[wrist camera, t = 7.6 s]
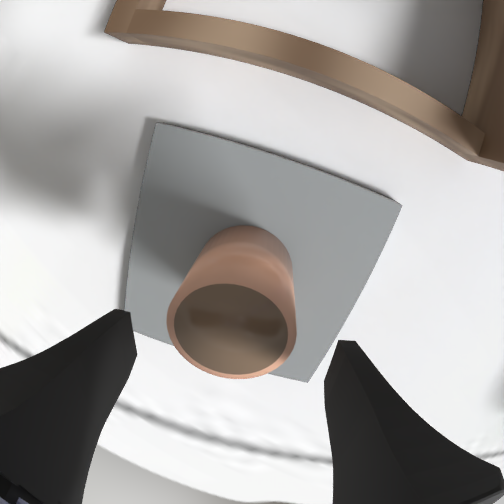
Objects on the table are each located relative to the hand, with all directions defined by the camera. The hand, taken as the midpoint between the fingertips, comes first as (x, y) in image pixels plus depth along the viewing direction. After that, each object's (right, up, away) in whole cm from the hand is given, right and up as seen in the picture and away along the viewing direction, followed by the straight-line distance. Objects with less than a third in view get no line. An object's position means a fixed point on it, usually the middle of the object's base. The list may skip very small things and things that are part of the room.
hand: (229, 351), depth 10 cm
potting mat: (0, +2, +6) cm, 6 cm away
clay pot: (0, +2, +5) cm, 6 cm away
